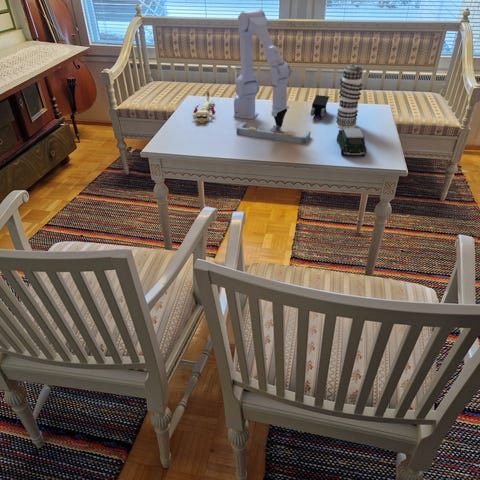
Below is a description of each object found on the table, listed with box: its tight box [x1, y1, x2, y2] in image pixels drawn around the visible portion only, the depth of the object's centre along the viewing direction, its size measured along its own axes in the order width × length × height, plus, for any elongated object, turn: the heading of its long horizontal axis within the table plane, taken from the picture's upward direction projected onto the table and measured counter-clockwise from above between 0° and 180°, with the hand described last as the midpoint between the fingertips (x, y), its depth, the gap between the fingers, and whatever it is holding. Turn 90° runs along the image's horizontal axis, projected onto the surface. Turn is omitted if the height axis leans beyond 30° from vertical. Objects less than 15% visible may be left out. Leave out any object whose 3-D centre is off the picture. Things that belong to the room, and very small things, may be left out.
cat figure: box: [191, 90, 216, 124], centre depth 197 cm, size 10×9×25 cm
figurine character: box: [310, 94, 330, 121], centre depth 194 cm, size 7×8×15 cm
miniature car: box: [336, 127, 367, 157], centre depth 164 cm, size 9×18×8 cm, turn 177°
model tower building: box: [335, 63, 364, 130], centre depth 178 cm, size 9×9×25 cm
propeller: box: [267, 124, 278, 133], centre depth 176 cm, size 4×25×4 cm, turn 163°
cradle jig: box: [236, 121, 311, 145], centre depth 177 cm, size 30×8×3 cm, turn 67°
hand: (278, 126), depth 181 cm, fingers closed, pressing on propeller
